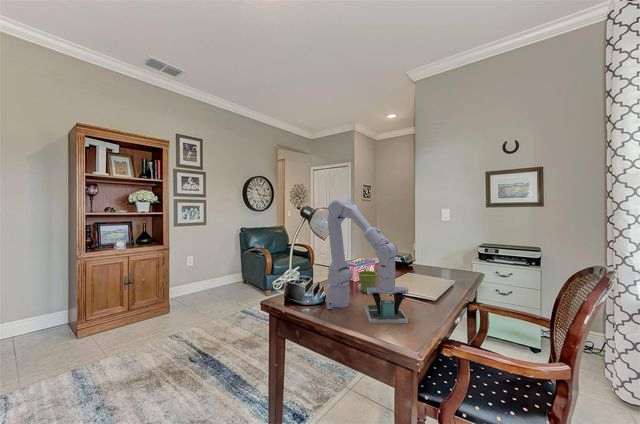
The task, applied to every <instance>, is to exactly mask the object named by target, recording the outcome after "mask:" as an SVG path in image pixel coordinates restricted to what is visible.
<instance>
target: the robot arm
mask: <svg viewBox="0 0 640 424" xmlns="http://www.w3.org/2000/svg"><path fill="white" fill-rule="evenodd" d="M327 209H328V210H327V211H328V215H327V219H326V220H327V227H328V236H329V237H328V238H329V246H330V247H329V248H330V255H331V262H330V264H329V266H328V274H327V281H328V283H329V284H326V299H325V300H326V309H327V310H332V309H333V308H346V307H349V305H350V290H349V289H350V281H351V279H353V278H352V277H353V272H352V270H351V268H350V263H348V261H346V255H345V247H344V240H343V234H342V233H343V232H342V230H343V229H342V223H343V221H344V220H345V219H346V218H347V219H351V220H352V221H353V223H354V224H356V226H357V227H358V228H359V229H360V230H361V231H362V232H363V233H364V234H363V235H364V238H365V240H366V241H367V242H368V243H369V244H370V246H371V247H372V248H373V249H374V250H375V256H376V257H377V259H378V286H375V287H371V288H367V292H366V294H367V295H372V297H373V301H374V303H375V305H376V306H377V311H378V314H379V315H380V314H381V310H380V304H381V300H382V298H381V295H392V294H393V303H394V312H395V314H398V310H400V306H401V304H402V302H403V301H404V299H405V297H404V296H405V295H409V288H407V287H405V286H396V257H397V255H398V247H397V245H396V243H395V242H392V241H390V240H389V239H388V238H386V237H385V236H384V234H383V233H382V230H381V229H380V228H377V227H375V226H371V225H370V223H369V222H368V220H367V219H366V218H365V217H364V215H363V214H362V213H361V212H360V210H359V209H358V206H357V205H356V204H355V203H354V201H352V200H350V199H345V200H342V199H341V200H338V199H334V200H333V201H331V202H330V204H329V205H328V206H327ZM404 294H405V295H404Z"/></svg>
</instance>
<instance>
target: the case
mask: <svg viewBox="0 0 640 424" xmlns="http://www.w3.org/2000/svg"><path fill="white" fill-rule="evenodd" d="M365 314H366V318H367V319H368V324H409V318H408V317H407V315H406V314H405V313H404V311H403V309H399V310H398V314H395V312H394V319H382V317H381V314H380V315H379V314H378V311H377V310H366V312H365Z"/></svg>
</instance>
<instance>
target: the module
mask: <svg viewBox="0 0 640 424" xmlns="http://www.w3.org/2000/svg"><path fill="white" fill-rule="evenodd" d="M380 304H381V317H382V319H394V300H393V299H381V301H380Z"/></svg>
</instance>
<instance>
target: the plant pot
mask: <svg viewBox="0 0 640 424" xmlns="http://www.w3.org/2000/svg"><path fill="white" fill-rule="evenodd" d="M357 275H358V278H359V283H360V290H361V292H363V293H367V288H371V287H376V286H375V285H376V278H377V276H378V273H377V272H376V271H373V270H362V271H358V272H357Z"/></svg>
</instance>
